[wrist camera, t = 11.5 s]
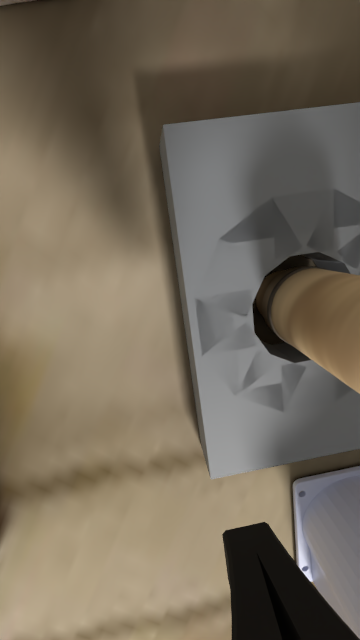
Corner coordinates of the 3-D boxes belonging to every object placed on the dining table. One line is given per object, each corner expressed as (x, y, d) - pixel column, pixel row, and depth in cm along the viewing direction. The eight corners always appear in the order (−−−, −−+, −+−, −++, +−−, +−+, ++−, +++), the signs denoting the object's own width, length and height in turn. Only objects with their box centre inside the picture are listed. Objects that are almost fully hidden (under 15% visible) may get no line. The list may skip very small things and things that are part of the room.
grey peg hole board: (424, 401, 22) (467, 426, 19) (201, 445, 20) (210, 479, 18) (446, 111, 17) (508, 85, 14) (159, 146, 16) (162, 124, 13)
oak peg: (313, 324, 19) (454, 395, 11) (250, 334, 19) (341, 414, 10) (314, 258, 18) (470, 276, 10) (247, 267, 18) (345, 293, 9)
